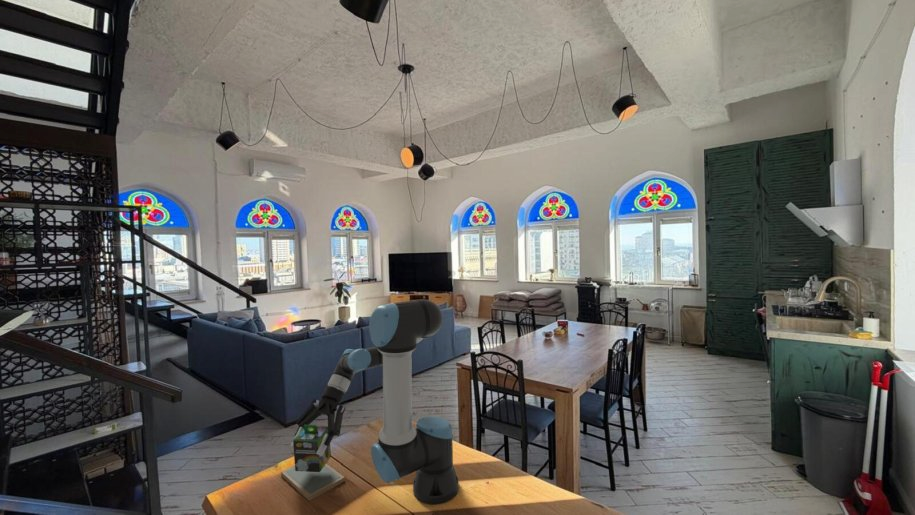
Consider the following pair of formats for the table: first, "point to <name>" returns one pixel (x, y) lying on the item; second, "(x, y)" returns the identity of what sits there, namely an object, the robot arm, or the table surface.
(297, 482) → the slate board
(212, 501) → the table surface
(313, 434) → the chalk box
